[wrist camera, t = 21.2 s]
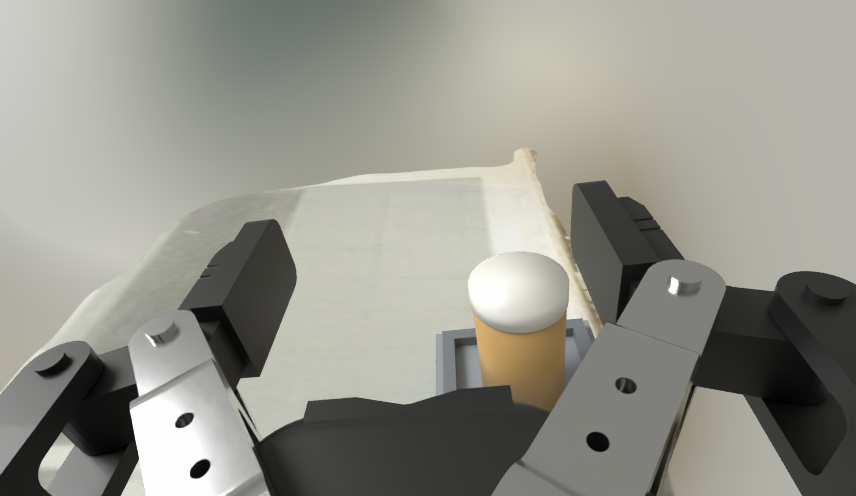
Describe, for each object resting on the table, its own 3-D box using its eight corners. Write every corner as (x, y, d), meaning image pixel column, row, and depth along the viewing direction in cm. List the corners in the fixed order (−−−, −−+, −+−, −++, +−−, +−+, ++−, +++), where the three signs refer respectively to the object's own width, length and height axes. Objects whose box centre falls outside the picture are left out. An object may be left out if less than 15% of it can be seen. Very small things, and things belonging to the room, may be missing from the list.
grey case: (448, 530, 34) (434, 473, 30) (445, 384, 45) (434, 326, 41) (633, 521, 33) (647, 459, 28) (583, 373, 44) (588, 312, 39)
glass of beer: (484, 429, 33) (469, 320, 26) (480, 361, 38) (467, 256, 31) (573, 425, 32) (579, 311, 26) (556, 356, 37) (558, 247, 31)
